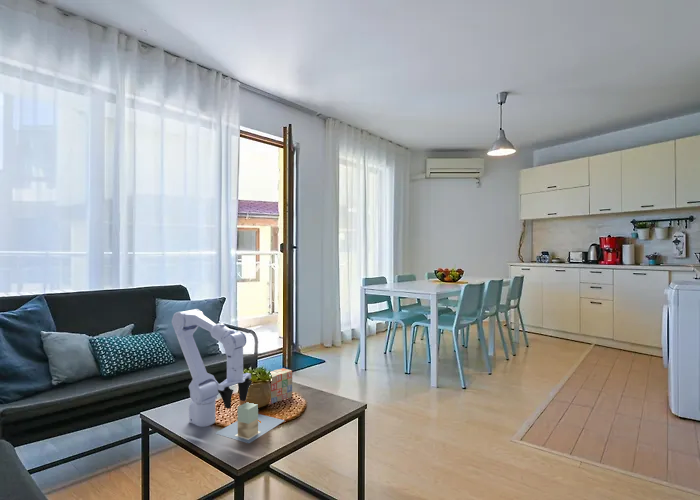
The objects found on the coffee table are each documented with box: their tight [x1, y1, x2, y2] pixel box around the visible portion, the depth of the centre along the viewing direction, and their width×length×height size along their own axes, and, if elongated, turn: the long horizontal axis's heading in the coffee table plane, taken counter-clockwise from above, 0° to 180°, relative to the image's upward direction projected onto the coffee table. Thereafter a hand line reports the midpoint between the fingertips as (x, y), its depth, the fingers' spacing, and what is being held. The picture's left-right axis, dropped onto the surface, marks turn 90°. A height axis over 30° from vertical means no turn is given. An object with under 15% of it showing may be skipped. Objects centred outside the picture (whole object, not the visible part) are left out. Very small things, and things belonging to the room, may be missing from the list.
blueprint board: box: [214, 413, 286, 444], centre depth 147 cm, size 16×20×1 cm
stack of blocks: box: [269, 367, 293, 405], centre depth 171 cm, size 21×6×12 cm, turn 142°
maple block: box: [237, 419, 258, 438], centre depth 141 cm, size 5×5×5 cm
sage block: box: [236, 402, 259, 424], centre depth 141 cm, size 5×5×5 cm
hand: (235, 404), depth 144 cm, fingers open, 7 cm apart
